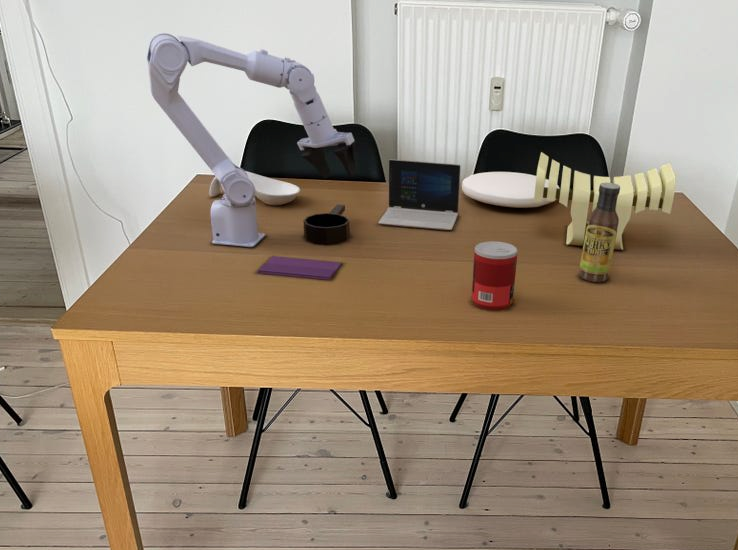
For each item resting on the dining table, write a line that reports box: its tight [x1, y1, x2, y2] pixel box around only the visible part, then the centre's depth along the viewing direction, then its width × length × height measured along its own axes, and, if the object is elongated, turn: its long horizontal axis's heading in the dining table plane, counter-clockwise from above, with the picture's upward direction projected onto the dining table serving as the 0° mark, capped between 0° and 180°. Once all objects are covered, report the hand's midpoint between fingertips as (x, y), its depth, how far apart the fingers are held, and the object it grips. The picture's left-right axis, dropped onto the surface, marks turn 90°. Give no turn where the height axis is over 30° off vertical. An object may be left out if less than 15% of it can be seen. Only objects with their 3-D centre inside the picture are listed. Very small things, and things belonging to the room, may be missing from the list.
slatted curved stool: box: [534, 151, 677, 251], centre depth 169 cm, size 30×16×18 cm, turn 80°
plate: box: [461, 171, 561, 209], centre depth 198 cm, size 28×6×27 cm
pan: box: [302, 204, 351, 246], centre depth 170 cm, size 17×10×4 cm, turn 172°
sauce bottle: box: [578, 182, 620, 283], centre depth 148 cm, size 6×6×20 cm
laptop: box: [377, 158, 461, 231], centre depth 177 cm, size 18×12×13 cm
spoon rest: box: [208, 170, 301, 206], centre depth 187 cm, size 24×12×7 cm, turn 80°
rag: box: [257, 255, 343, 281], centre depth 150 cm, size 15×9×1 cm, turn 82°
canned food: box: [471, 241, 518, 311], centre depth 137 cm, size 8×8×11 cm
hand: (340, 175), depth 165 cm, fingers open, 7 cm apart
